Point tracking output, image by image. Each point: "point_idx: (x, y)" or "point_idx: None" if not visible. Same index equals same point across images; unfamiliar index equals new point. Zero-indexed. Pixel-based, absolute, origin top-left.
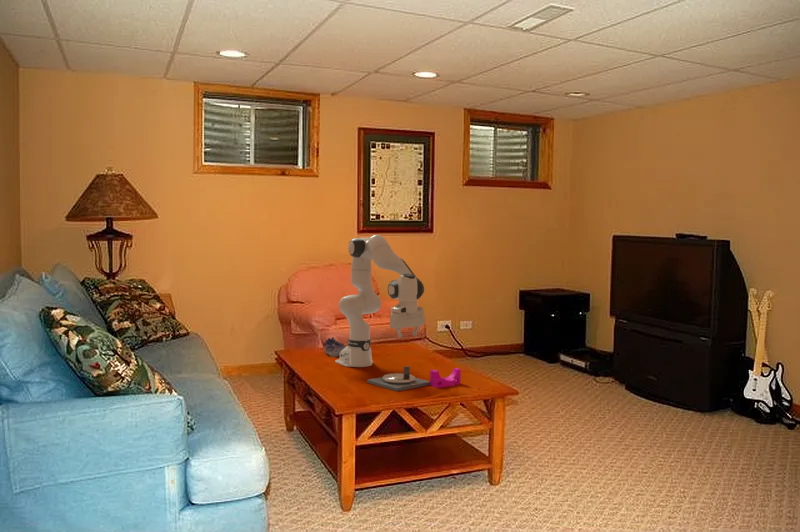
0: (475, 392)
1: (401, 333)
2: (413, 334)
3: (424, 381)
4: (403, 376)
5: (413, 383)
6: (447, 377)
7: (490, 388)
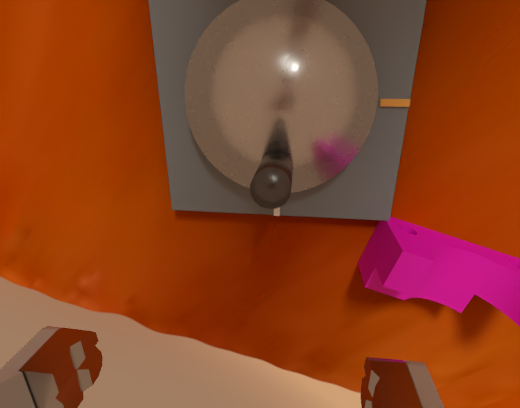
0: None
1: (57, 405)
2: (370, 385)
3: (370, 199)
4: (260, 162)
5: (295, 194)
6: (484, 261)
7: (509, 392)
